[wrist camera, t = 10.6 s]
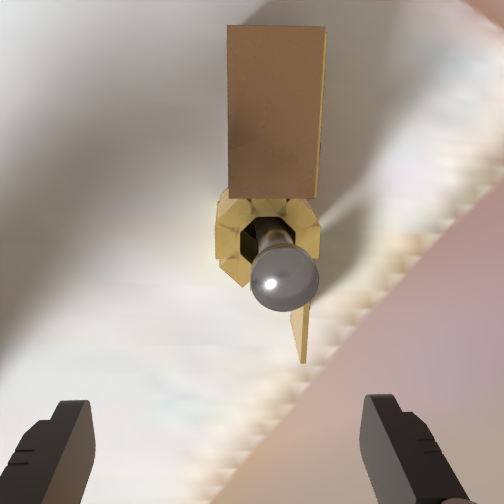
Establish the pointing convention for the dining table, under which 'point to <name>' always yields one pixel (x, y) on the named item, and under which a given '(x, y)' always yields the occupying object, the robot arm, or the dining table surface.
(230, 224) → the hinge block
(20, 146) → the dining table surface
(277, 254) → the hinge pin
